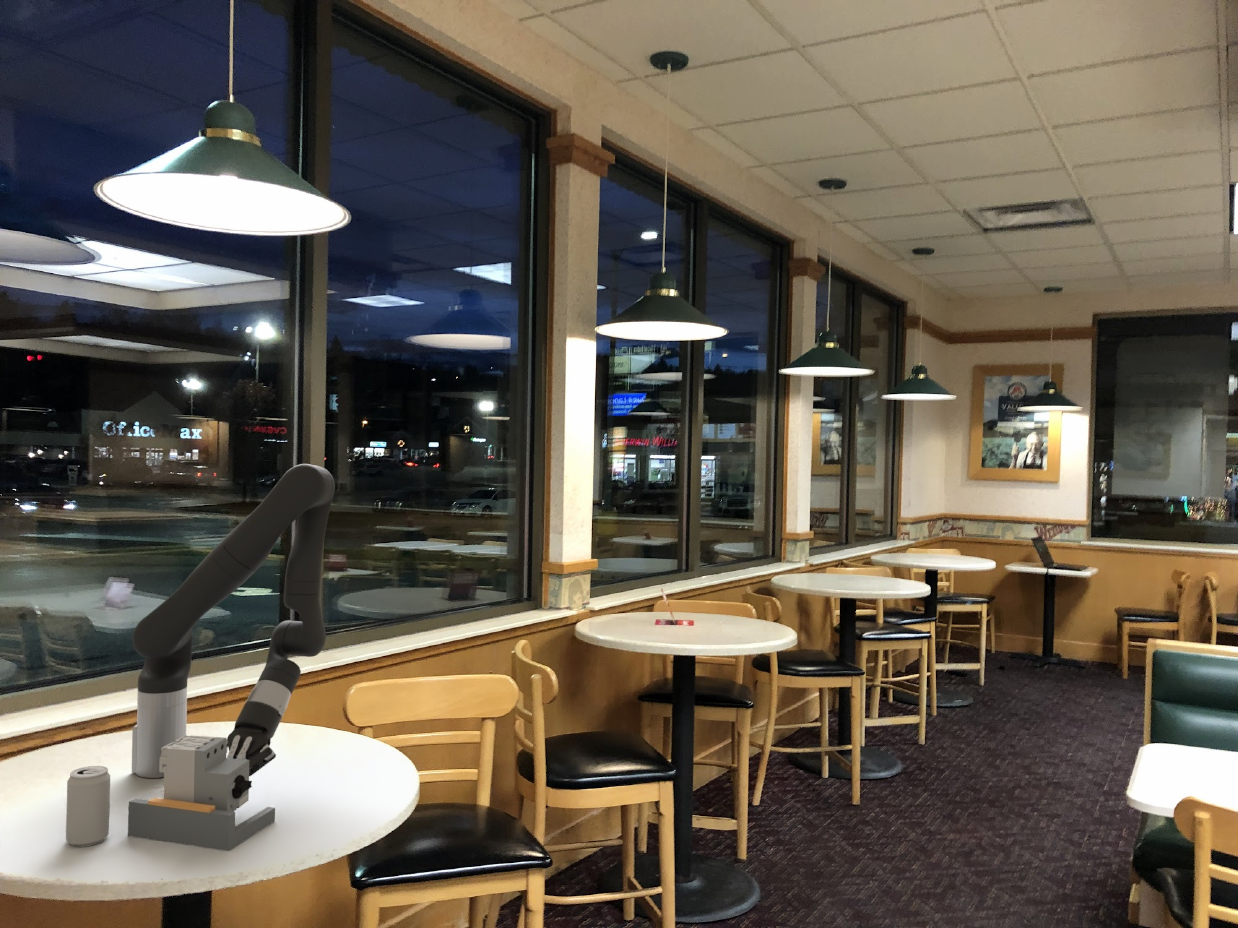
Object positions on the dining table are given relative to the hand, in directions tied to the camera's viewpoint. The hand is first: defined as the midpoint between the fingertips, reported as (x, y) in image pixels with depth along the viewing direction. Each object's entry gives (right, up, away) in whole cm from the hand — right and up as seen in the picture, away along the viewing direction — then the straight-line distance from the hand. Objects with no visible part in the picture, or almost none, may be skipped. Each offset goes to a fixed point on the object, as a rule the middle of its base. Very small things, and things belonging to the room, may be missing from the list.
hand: (222, 794), depth 170 cm
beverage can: (-18, -4, -11) cm, 22 cm away
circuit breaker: (-1, -5, -4) cm, 6 cm away
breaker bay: (-1, -4, -5) cm, 7 cm away
